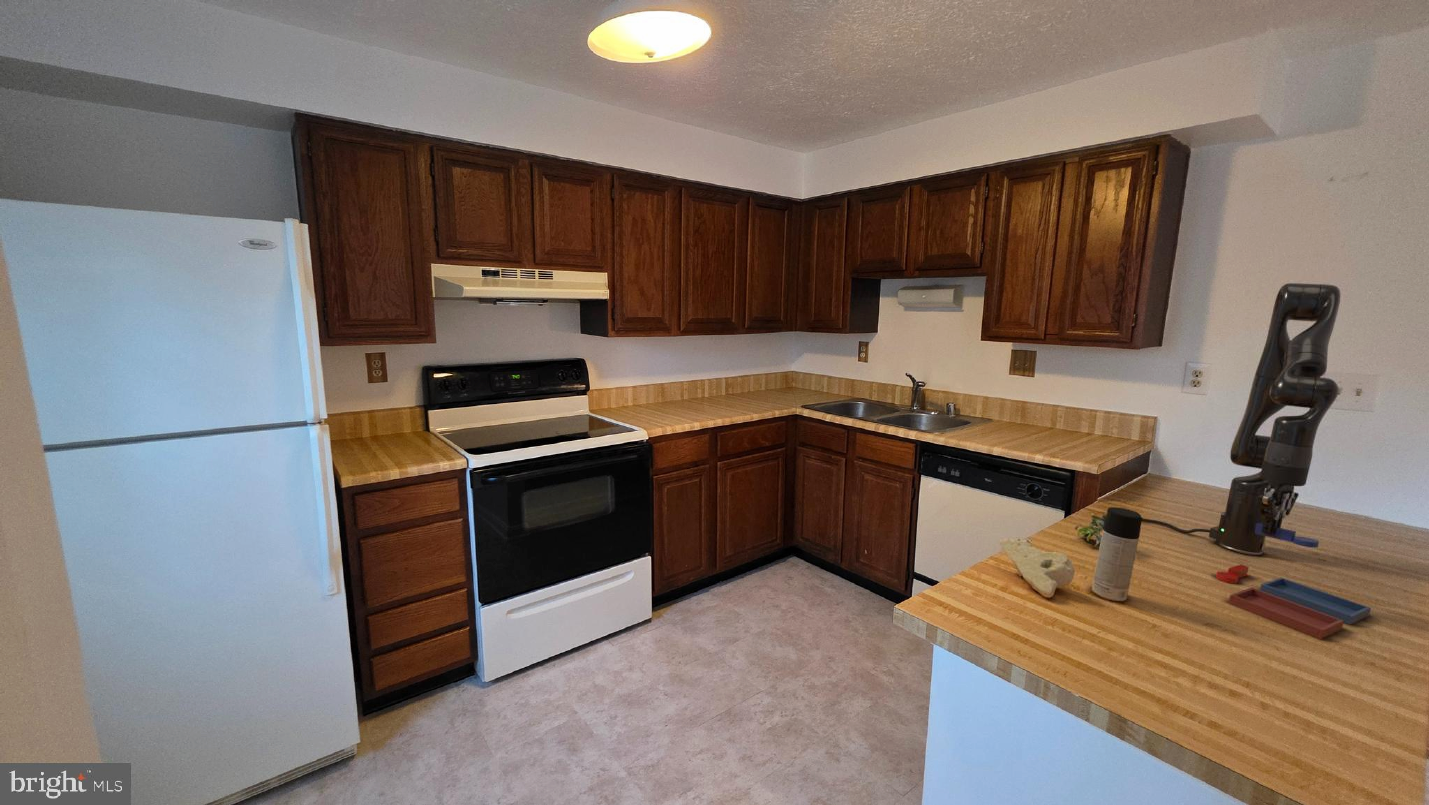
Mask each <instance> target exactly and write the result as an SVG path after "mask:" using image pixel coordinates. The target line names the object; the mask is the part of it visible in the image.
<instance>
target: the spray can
mask: <svg viewBox="0 0 1429 805" xmlns="http://www.w3.org/2000/svg"><path fill="white" fill-rule="evenodd" d="M1106 514H1107V515H1106V520H1105V523H1104V527H1103V530H1102V532H1101V536H1102V538H1101V543H1099V548H1098V554H1097V558H1096V564H1095V569H1094V575H1093V580H1092V586H1091V591H1092V592H1093V594H1094V595H1096V596H1098V597H1100V598H1103V599H1105V600H1109V601H1113V602H1124V601H1126V600H1127V598H1128V594H1129V589H1130V584H1131V579H1132V574H1133V569H1134V565H1135V560H1136V555H1137V550H1138V545H1139V540H1140V534H1141V528H1142V522H1143V521H1142V518H1143V517H1142V515H1141V514H1140V513H1139V512H1138V511H1135V510H1131V509H1129V508H1124V507H1116V506H1111V507H1108V508H1107V512H1106Z"/></svg>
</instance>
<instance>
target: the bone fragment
mask: <svg viewBox="0 0 1429 805" xmlns="http://www.w3.org/2000/svg"><path fill="white" fill-rule="evenodd" d="M1032 541H1033V539H1031V538H1026V539H1021V538H1019V537H1015V538H1002V539H1000V540H999V544H1000V548H1001V549H1002V550H1003V551H1004V553H1005V554H1006V555H1007V557H1008V559H1009V560H1010V561H1011V562H1012V563H1013V564H1014V568H1015V569H1016V570H1017V575H1018V576H1020V577H1022V578H1023V579H1024V580H1025V581H1026V583H1028V584H1029V585H1030V586H1031V587H1032V589H1033V590H1035V591H1036V592H1037V593H1038V594H1040V595H1041V596H1042V597H1043V598H1046V599H1048V598H1051V597H1053V596H1054V594H1055V591H1056V589H1057V588H1060V589H1063V588H1065V587H1067V586H1069V585H1071V583H1073V580H1074V577H1075V567H1074V565H1073V562H1072V561H1071V560H1070V558H1068V556H1067V555H1066V554H1065V553H1063V552H1059V551H1044V550H1042V549H1039V548H1037V547H1036V546H1033V543H1032Z"/></svg>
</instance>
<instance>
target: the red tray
mask: <svg viewBox="0 0 1429 805" xmlns="http://www.w3.org/2000/svg"><path fill="white" fill-rule="evenodd" d="M1228 604H1231V605H1233V606H1236V607H1238V608H1241V609H1243V610H1246V611H1248V612H1251V613H1253V614H1256V615H1259V616H1261V617H1263V618H1266V619H1268V620H1271V621H1273V622H1276V623H1279V624H1281V625H1284V626H1286V627H1289V628H1292V629H1294V630H1297V631H1299V632H1302V633H1304V634H1307V635H1310V636H1312V637H1314V638H1317V639H1319V640H1323V639H1324V638H1327V637H1328V636H1330V635H1333V634H1335V633H1337V632H1339V631H1341V630H1342V629H1343V624H1344V621H1343V620H1340V619H1338V618H1335V617H1332V616H1329V615H1326V614H1324V613H1321V612H1318V611H1315V610H1313V609H1310V608H1307V607H1304V606H1302V605H1299V604H1296V603H1293V602H1290V601H1288V600H1285V599H1282V598H1279V597H1277V596H1274V595H1271V594H1268V593H1266V592H1263V591H1260V589H1257V588H1254V587H1249V588H1246V589H1243V590H1240V591H1238V592H1234V593H1231V594H1230V595H1229V599H1228Z"/></svg>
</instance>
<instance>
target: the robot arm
mask: <svg viewBox="0 0 1429 805" xmlns="http://www.w3.org/2000/svg"><path fill="white" fill-rule="evenodd" d="M1341 297H1342V296H1341V291H1340V288H1339V287H1338V286H1337V285H1333V284H1324V283H1320V284H1319V283H1301V282H1300V283H1299V282H1298V283H1297V282H1296V283H1295V282H1290V283H1289V282H1288V283H1285V284H1283V285H1282V286H1281V287H1280V288H1279V290H1278V291H1277V294H1276V297H1275V300H1274V304H1273V308H1272V312H1271V313H1272V314H1271V317H1270V322H1269V326H1268V330H1267V331H1268V332H1267V336H1266V339H1265V343H1264V347H1263V350H1262V352H1261V355H1260V359H1259V362H1258V365H1257V367H1256V370H1255V372H1254V375H1253V376H1254V377H1253V380H1252V383H1251V388H1250V391H1249V395H1248V400H1247V404H1246V407H1245V410H1244V413H1243V416H1242V419H1241V421H1240V423H1239V425H1238V429H1237V430H1236V433H1235V436H1234V438H1233V441H1232V443H1231V447H1230V452H1229V454H1230V455H1229V458H1230V461H1231V463H1232V464H1233V465H1236V466H1241V467H1246V468H1252V469H1259V470H1260V469H1261V470H1260V471H1259V472H1257V473H1255V474H1254V473H1253V474H1251V475H1243V476H1237V477H1234V478H1232V479H1231V482H1230V487H1229V492H1228V496H1227V501H1226V506H1225V510H1224V511H1223V512H1221V514H1220V518H1219V523H1218V525H1217V526H1213V527H1210V528H1209V529H1208V528H1192V529H1188V530H1187V529H1183V528H1180V527H1178V526H1175V525H1173V524H1171V523H1168V522H1164V521H1161V520H1156V519H1150V518H1144V517H1142V522H1144V523H1145V522H1146V523H1152V524H1157V525H1161V526H1165V527H1168V528H1171V529H1172V530H1174V531H1176V532H1179V533H1183V534H1193V533H1198V532H1200V533H1209V534H1208V538H1209V539H1213V540H1214V541H1215V542H1214V544H1215V545H1218V546H1220V547H1222V548H1224V549H1227V550H1229V551H1231V552H1235V553H1238V554H1239V553H1240V554H1243V555H1250V556H1262V555H1263V549H1265V546H1266V537H1267V536H1263V535H1259V534H1255V529H1256V524H1258V523H1261V524H1263V526H1262V530H1261V531H1262V532H1263V533H1265V534H1269V535H1274V534H1275V531H1276V527H1279V528H1282V523H1283V520H1284V519H1285V518H1286V517H1287V516H1289V515H1290V514H1291V511H1292V510H1293V507H1294V505H1295V503H1296V501H1297V500H1298V497H1299V496H1300V495H1299V493H1298V492H1295V487H1303V486H1305V485H1307V480H1308V477H1309V473H1310V472H1309V471H1310V469H1311V468H1310V467H1311V463H1312V461H1313V460H1312V459H1313V451H1314V449H1313V448H1314V443H1315V439H1316V436H1317V432H1318V429H1319V427H1320V424H1321V422H1322V421H1323V418H1324V417H1325V415H1326V414H1327V412H1328V411H1329V409H1330V408H1331V407H1332V406H1333V404H1334V403H1335V401H1336V399H1337V398H1338V396H1339V392H1340V389H1339V386H1338V384H1337V382H1336V381H1335V380H1334V379H1332V378H1329V377H1324V375H1326V374H1325V373H1326V372H1327V369H1328V354H1329V352H1328V351H1329V344H1330V340H1331V337H1332V334H1333V331H1334V328H1335V323H1336V320H1337V316H1338V313H1339V308H1340V304H1341ZM1289 321H1295V322H1296V321H1297V322H1313V324H1312V325H1311V326H1309V327H1308V328H1306V329H1305V330H1303V331H1301V332H1300V333H1299V334H1297V335H1295V336H1294V337H1293V338H1292V339H1290V336H1289V333H1288V322H1289ZM1285 407H1296V408H1305V409H1309V410H1308V411H1306V412H1305V413H1303V414H1300V415H1299V414H1298V415H1283V416H1278V417H1276V418H1275V419H1274V421H1273V423H1272V429H1271V434H1270V435H1260V434H1257V433H1258V431H1259V429H1260V428H1261V427H1262V425H1263V424H1264V423H1266V421H1267V420H1268V419H1270V418H1271V417H1272V416H1274V415H1275V414H1277V413H1278V412H1280V411H1281V410H1283V409H1284V408H1285Z"/></svg>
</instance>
